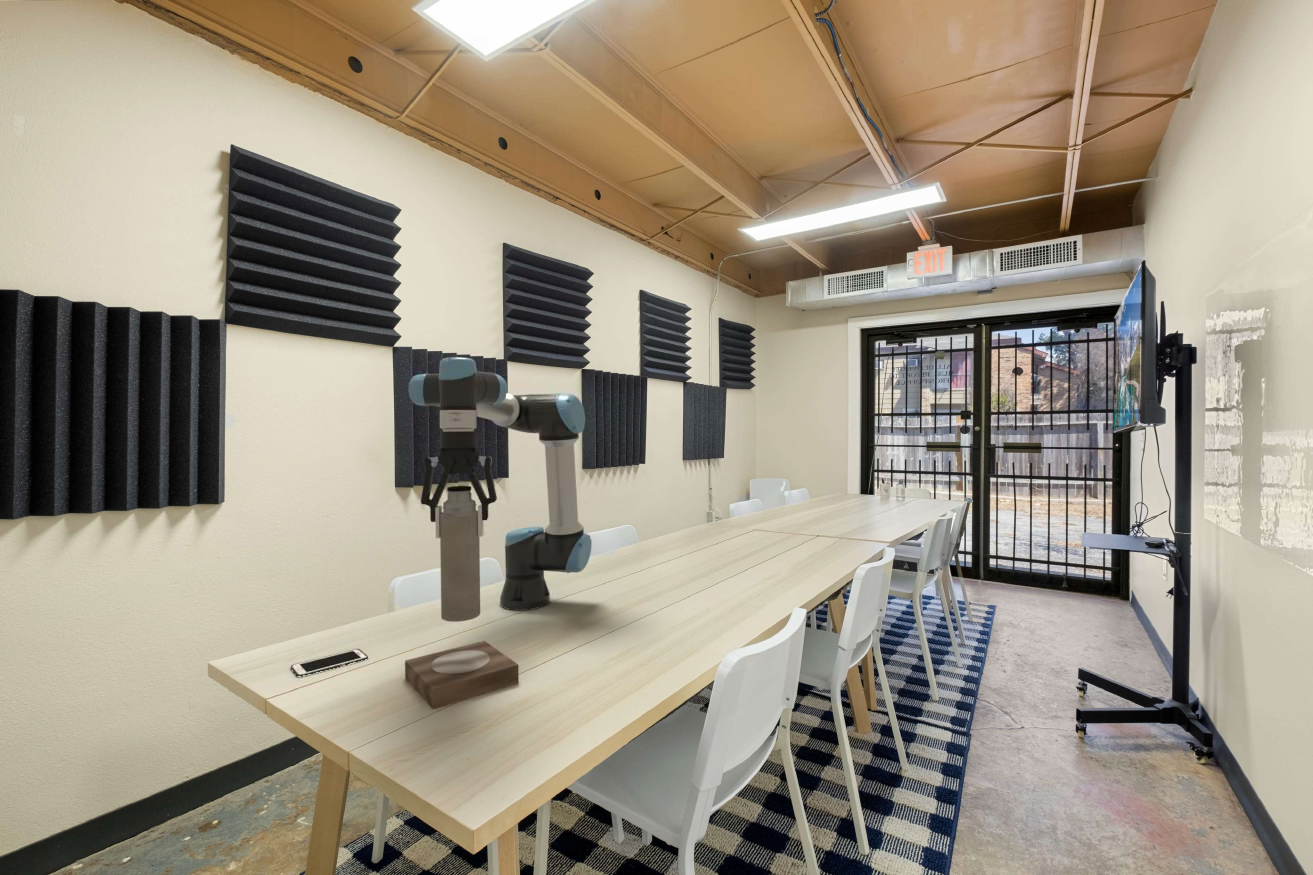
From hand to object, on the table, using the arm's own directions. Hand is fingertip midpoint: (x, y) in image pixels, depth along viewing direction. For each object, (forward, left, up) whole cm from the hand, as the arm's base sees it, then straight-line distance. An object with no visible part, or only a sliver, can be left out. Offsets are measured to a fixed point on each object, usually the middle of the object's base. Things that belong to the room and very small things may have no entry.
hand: (460, 536), depth 125 cm
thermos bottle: (0, 0, -17) cm, 17 cm away
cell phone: (-29, -20, -32) cm, 48 cm away
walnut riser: (0, 0, -31) cm, 31 cm away
